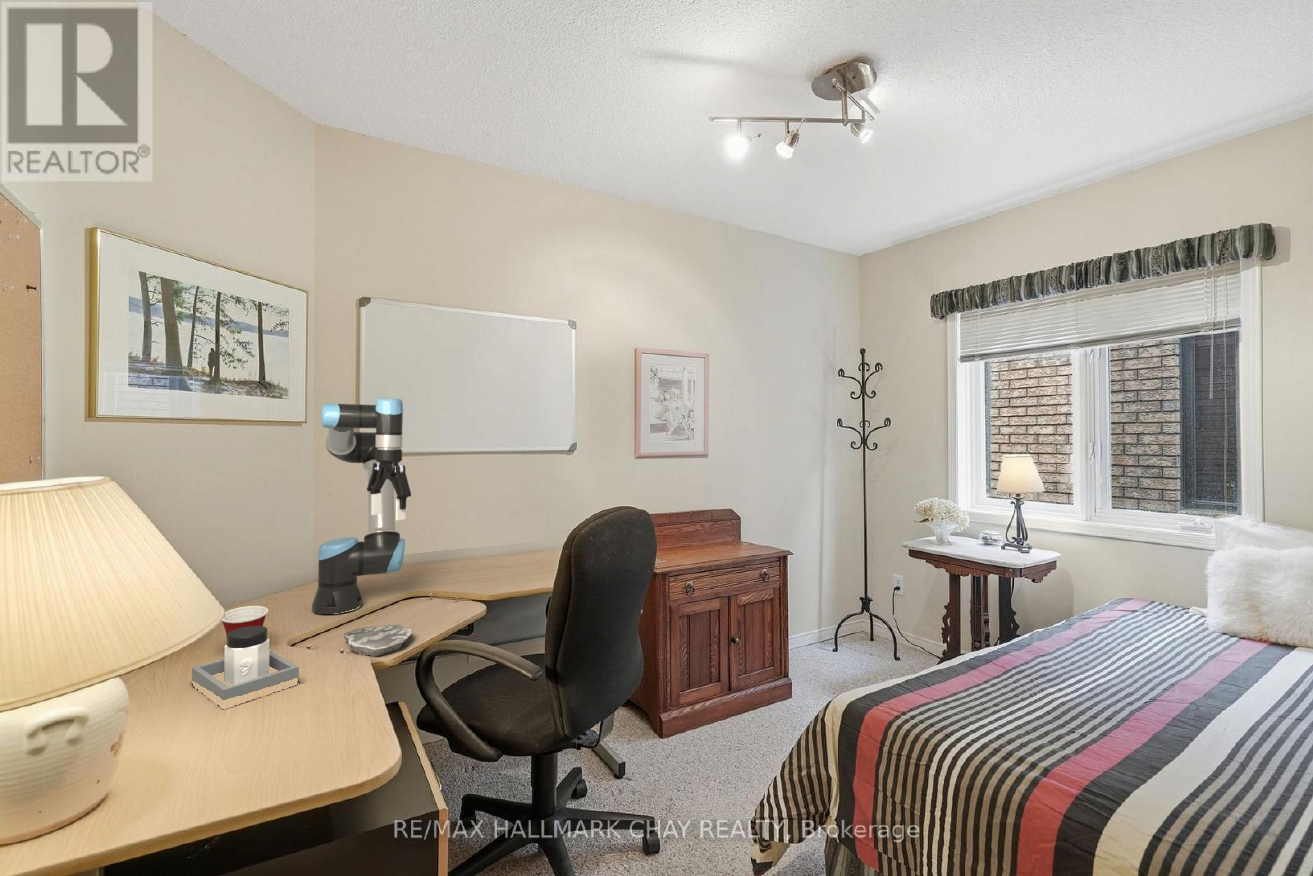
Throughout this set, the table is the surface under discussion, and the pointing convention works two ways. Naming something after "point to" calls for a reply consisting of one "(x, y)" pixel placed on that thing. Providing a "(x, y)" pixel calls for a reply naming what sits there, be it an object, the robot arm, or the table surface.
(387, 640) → the grey stone slab
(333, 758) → the table surface
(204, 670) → the bin
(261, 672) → the jar
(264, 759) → the table surface
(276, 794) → the table surface
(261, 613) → the plastic cup
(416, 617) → the table surface
